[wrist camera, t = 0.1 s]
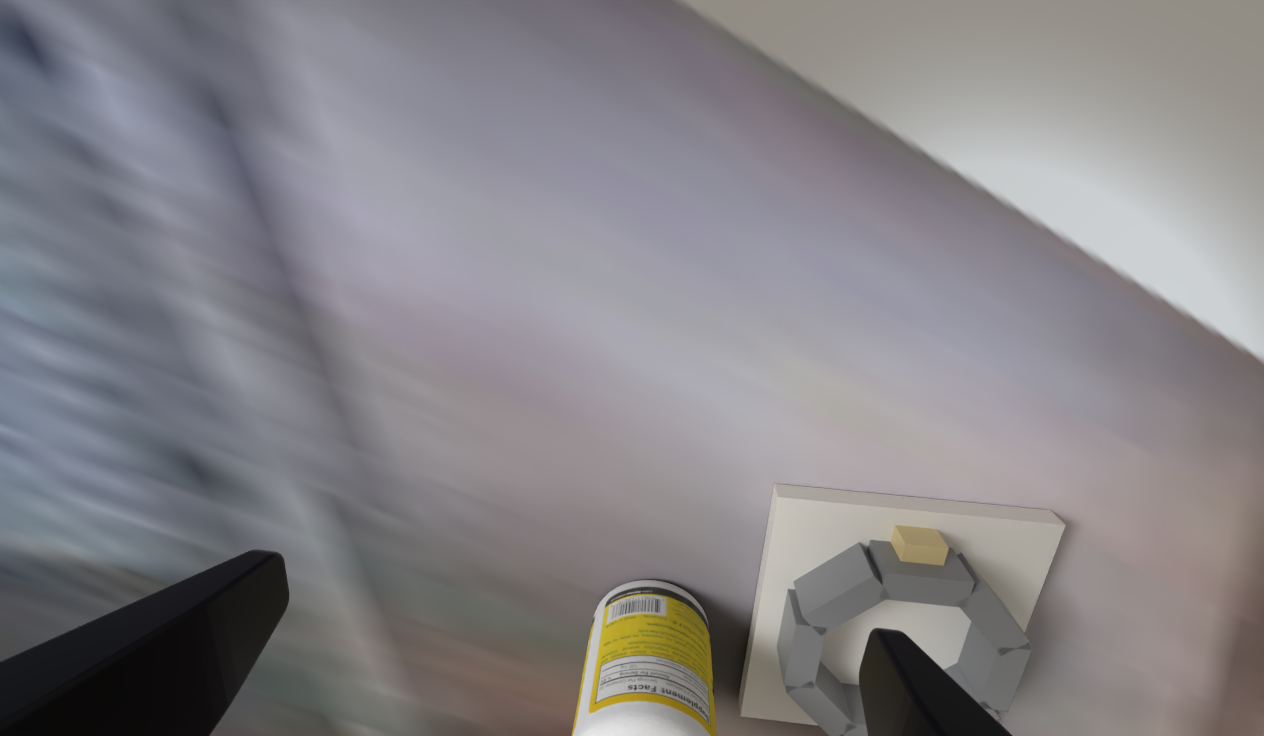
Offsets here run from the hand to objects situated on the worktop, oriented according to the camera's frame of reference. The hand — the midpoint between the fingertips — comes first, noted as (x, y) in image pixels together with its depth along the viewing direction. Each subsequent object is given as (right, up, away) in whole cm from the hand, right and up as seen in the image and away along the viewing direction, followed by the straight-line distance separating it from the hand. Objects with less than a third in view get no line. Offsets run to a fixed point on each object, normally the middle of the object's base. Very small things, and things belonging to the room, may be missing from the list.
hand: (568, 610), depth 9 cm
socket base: (+12, -7, +17) cm, 22 cm away
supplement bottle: (+2, -8, +19) cm, 20 cm away
